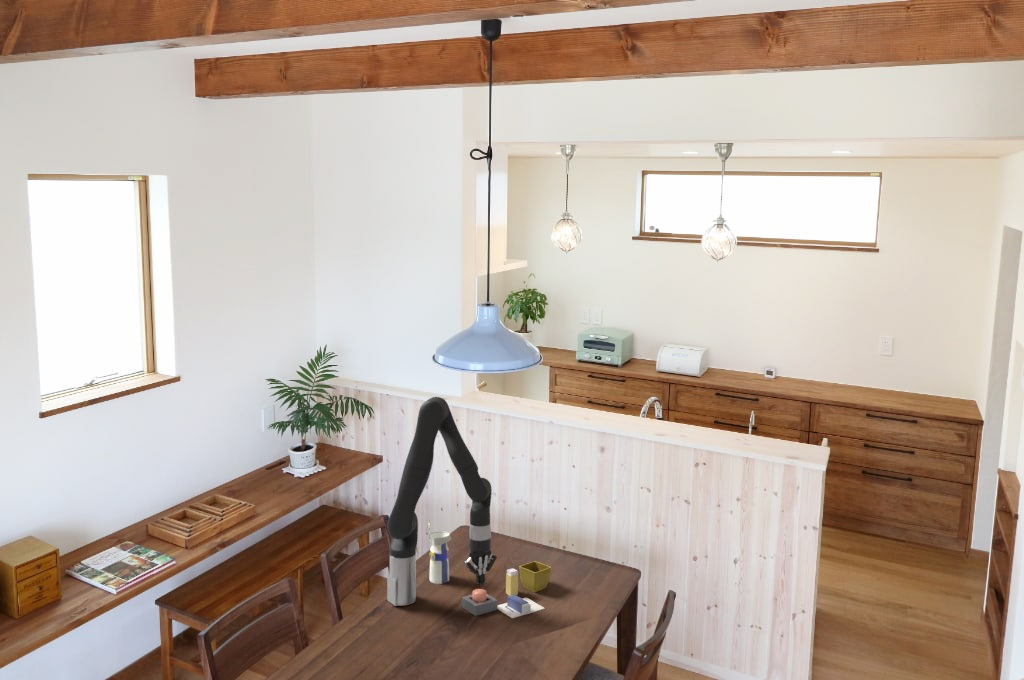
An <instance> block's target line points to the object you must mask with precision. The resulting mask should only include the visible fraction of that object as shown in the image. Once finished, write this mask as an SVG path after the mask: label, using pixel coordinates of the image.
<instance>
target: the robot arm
mask: <svg viewBox="0 0 1024 680" xmlns="http://www.w3.org/2000/svg"><path fill="white" fill-rule="evenodd" d="M438 433H440V435H441V437H442V439H443V441H444V445H445V447H446V450H447V453H448V455H449V458H450V461H451V463H452V464H453V466H454V468H455V470H456V471H457V473H458V474H459V476H460V479H461V482H462V485H463V487H464V489H465V493H466V495H467V496H468V497H469V499H470V500H471V501H472V502H471V507H470V511H469V531H468V532H469V555H468V558H467V560H464V561H463V564H464V566H465V567H466V568H467V569H468V571H469V572H471V573H472V574H473V575H475V583H476V584H477V585H479V586H482V585H484V584H485V582H486V574H487V572H490V570H492V567H493V566H494V564H495V562H496V561H497V558H498V557H497V555H496V554H494V553H492V529H491V510H490V509H491V501H492V493H493V492H492V485H491V482H490V481H489V480H488V479H487V478H485V477H481V476H480V475H481V474H479V466H478V464H477V462H476V461H475V458H474V457H473V455H472V453H471V452H470V450H469V448H468V446H467V445H466V443H465V441H464V439H463V437H462V435H461V433H460V430H459V428H458V426H457V425H456V422H455V419H454V416H453V414H452V411H451V409H450V406H449V404H448V402H447V401H446V400H445V399H444V398H442V397H439V396H433V397H430V398H428V399H427V400H426V401H424V402H423V403H422V404H421V405H420V407H419V410H418V416H417V423H416V428H415V433H414V437H413V439H412V442H411V445H410V448H409V450H408V454H407V457H406V460H405V464H404V467H403V469H402V475H401V478H400V482H399V488H398V492H397V497H396V500H395V503H394V504H393V508H392V510H391V513H390V515H389V518H388V520H387V522H386V523H387V524H386V527H387V528H386V529H387V532H388V533H389V535H390V537H392V538H391V543H390V545H389V574H387V575H386V576H387V578H386V579H387V581H386V582H387V583H386V584H387V587H386V588H387V589H386V590H387V592H386V594H387V601H388V603H390V604H391V605H393V606H395V607H397V606H400V607H403V606H409V605H411V604H414V603H415V602H416V600H417V598H416V596H417V595H416V594H417V593H416V592H417V591H416V588H417V587H416V586H417V584H416V583H417V581H416V580H417V579H416V577H417V576H416V574H417V570H416V569H417V565H416V564H417V562H416V561H417V558H416V557H417V554H416V553H417V551H416V550H417V546H418V536H419V535H418V533H419V531H418V530H419V523H418V521H419V520H418V515H417V514H416V512H415V511H416V508H417V504H418V502H419V500H420V497H421V496H422V494H423V492H424V490H425V487H426V486H427V483H428V481H429V478H430V475H431V471H432V468H433V463H434V454H435V453H434V451H435V449H434V448H435V443H436V442H435V441H436V438H437V435H438Z"/></svg>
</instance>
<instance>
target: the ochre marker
mask: <svg viewBox="0 0 1024 680" xmlns="http://www.w3.org/2000/svg"><path fill="white" fill-rule="evenodd" d="M505 594H507V596H511V595H514V594H515V595H516V596H518V595H519V573H518V570H517V569H515V568H513V567H512V568H509V569H506V573H505Z"/></svg>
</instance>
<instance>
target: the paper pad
mask: <svg viewBox="0 0 1024 680" xmlns="http://www.w3.org/2000/svg"><path fill="white" fill-rule="evenodd" d="M522 599H523V600H525V601H527V602H528V603H529V604H531V609H530V613H526V614H523V613H519V612H518V611H516V610H514V609H513V608H511V607H509V606H508V605H507V602H505V603H502V604H501V603H500V604H497V610H498V611H500V612H501V613H502V614H505V615H506V616H508V617H509V618H511V619H515V618H518V617H522V616H525V615H529V614H532V613H536V612H540V611H544V610H545V609H546V608H545V607H544V606H542V605H541V604H539V603H538V602H537V603H536V602H535V601H533V600H532V599H530V598H528V597H523V598H522Z"/></svg>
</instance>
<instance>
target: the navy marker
mask: <svg viewBox="0 0 1024 680" xmlns="http://www.w3.org/2000/svg"><path fill="white" fill-rule="evenodd" d="M506 603H507V605H508V606H509V607H511V608H513V609H514V610H516V611H518V612H519V613H523V614H526V613H529V614H531V613H530V609H531V604H529V603H528V602H527V601H525V600H523V598H521V597H520V596H518V595H515V594H514V595H511V596H509V595H507V598H506ZM526 615H527V614H526Z"/></svg>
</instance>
